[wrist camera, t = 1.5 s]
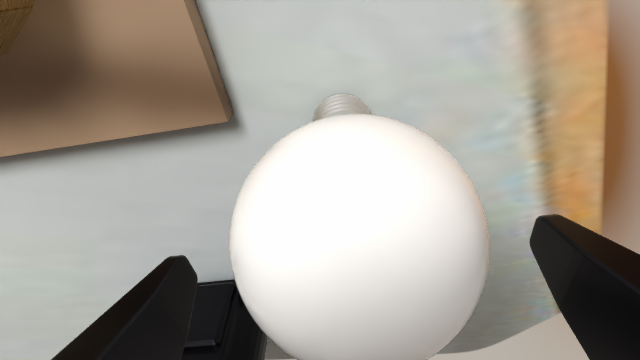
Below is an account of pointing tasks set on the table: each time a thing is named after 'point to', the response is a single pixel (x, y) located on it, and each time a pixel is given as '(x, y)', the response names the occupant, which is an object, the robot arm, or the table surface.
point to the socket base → (107, 74)
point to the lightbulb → (359, 239)
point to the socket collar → (12, 20)
